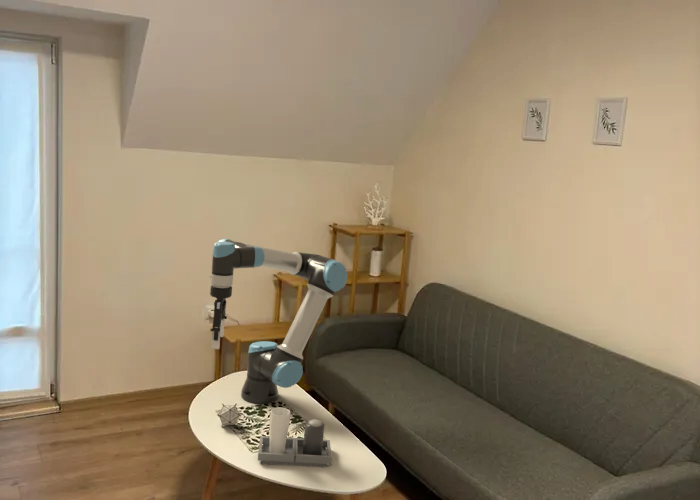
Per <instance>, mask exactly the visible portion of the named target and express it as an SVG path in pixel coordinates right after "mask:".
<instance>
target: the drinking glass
mask: <svg viewBox="0 0 700 500" xmlns="http://www.w3.org/2000/svg"><path fill="white" fill-rule="evenodd" d="M290 421H291V410H290V409H288V408H286V407H273V408H272V409H270V414H269V437H270V444H269V452H270V453H284V452H285V445H286V439H287V438H288V433H289V428H290V424H291V423H290Z"/></svg>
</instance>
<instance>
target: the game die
mask: <svg viewBox="0 0 700 500" xmlns="http://www.w3.org/2000/svg"><path fill="white" fill-rule="evenodd" d="M221 404H222V407H221V409H220V411H219V413H217V414H216V416H217V417H219V419H220V422H221V428H222V427H223V426H234V427H235V428H236V427H237V425H236V423H237V422H238V420H239V418H240V417H242V415H241V414H240V412H239V411H238V408H237V405H238V404H237V403H235V404H232V405H230V404H229V405H228V404H226V405H224V403H221Z"/></svg>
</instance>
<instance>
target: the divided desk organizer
mask: <svg viewBox="0 0 700 500" xmlns="http://www.w3.org/2000/svg"><path fill="white" fill-rule="evenodd" d="M304 423H305V425H304V435H303V438H299V437H298V438H297V437H287V439H286V445H285V452H284V453H270V452H269V444H270V436H264V435H261V436H259V437H260V438H259V446H258V454H257V461H259V462H260V461H261V465H273V466H274V465H277V466H295V467H298V466H299V467H313V468H314V467H315V468H328V465H332V459H333V458H332V457H333V456H332V449H331V448H332V447H331V440H330V439H324V434H325V425H326V424H325V423H324V422H323V421H321V420H319V419H314V418H313V419H310V420H308V421H306V422H304Z"/></svg>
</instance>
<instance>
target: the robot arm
mask: <svg viewBox="0 0 700 500" xmlns="http://www.w3.org/2000/svg"><path fill="white" fill-rule="evenodd" d="M211 260H212V263H211V275H209V278H210V283H211V285H210V291H209V295H210V297H212V298H215V300H214V302H213V319H212V327H211V328H210V332H212V334H211V335H212V336H211V350H212V349H213V350H220V347H221V346H220V345H221V343H220V342H221V338H224V337H225V336H224V335H225V322H226V320H227V318H228V317H227V314H226V308H227V300H226V299H229V298H231V297H232V293H233V283H234V282H233V281H234V270H235V269H250V268H252V269H254V268H260V267H262V268H269V269H274V270H279V271H282V272H288V273H289V274H290V276H291V275H292V276H297V277H299V278H302V279H304V280H306V281H307V283H306V286H307V288H308V290H307V291H306V294H305V297H304V298H303V301H302V302H301V304H300V307H299V309H298V310H297V313H296V314H295V317H294V319H293V321H292V323H291V324H290V327H289V329H288V331H287V333H286V336H285V337H284V340H283V341H282V343H281V344H278V343H277V342H274V341H265V340H263V341H256V342H252V343H251V344H250V345H249V347H248V353H247V354H248V355H247V369H246V379H245V381H244V383H243V386H242V388H241V392H240V393H241V394H240V396H241V398H242V399H243V400H244V401H246V402H249V403H254V404H270V403H272V402H276V400H278V396H279V389H278V387H280V388H284V389H287V388H291V387H292V386H293V387H294V385H295V386H296V384H297V383H298V382H300V380H301V378H302V377H303V375H304V374H303V373H304V370H303V365H302V362H303V360H304V356H303V351H304V349H305V347H306V345H307V343H308V341H309V339H310V337H311V335H312V333H313V331H314V328H315V326H316V324H317V322H318V320H319V318H320V316H321V313H322V312H323V310H324V307H325V306H326V303H327V301H328V300H329V299H330V298H333V297H334V295H335V294H336V292H339V291H340V290H343V288H344V287H345V286H346V283H348V282H347V281H348V272H347V268H346V266H345V265H344V264H343V263H342V262H340V261H338V260H336V259H333V258H330V257H327V256H324V255H320V254H316V253H307V252H299V251H293V252H288V251H283V250H277V249H273V248H269V247H263V246H258V245H255V244H249V243H245V242H239V241H234V240H231V239H228V238H222V239H220V240H218V241H216V242H215V243H213V248H212V259H211Z"/></svg>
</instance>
